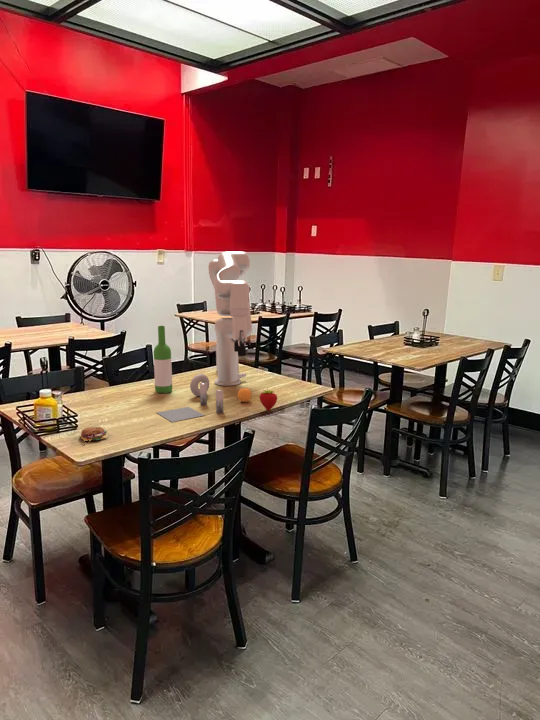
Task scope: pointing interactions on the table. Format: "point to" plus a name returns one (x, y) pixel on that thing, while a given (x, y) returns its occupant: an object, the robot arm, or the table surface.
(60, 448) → the table surface
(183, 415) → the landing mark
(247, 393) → the ball
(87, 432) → the hamburger
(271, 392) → the strawberry
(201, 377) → the donut
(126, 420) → the table surface
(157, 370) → the wine bottle
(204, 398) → the post
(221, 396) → the post
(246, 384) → the table surface
